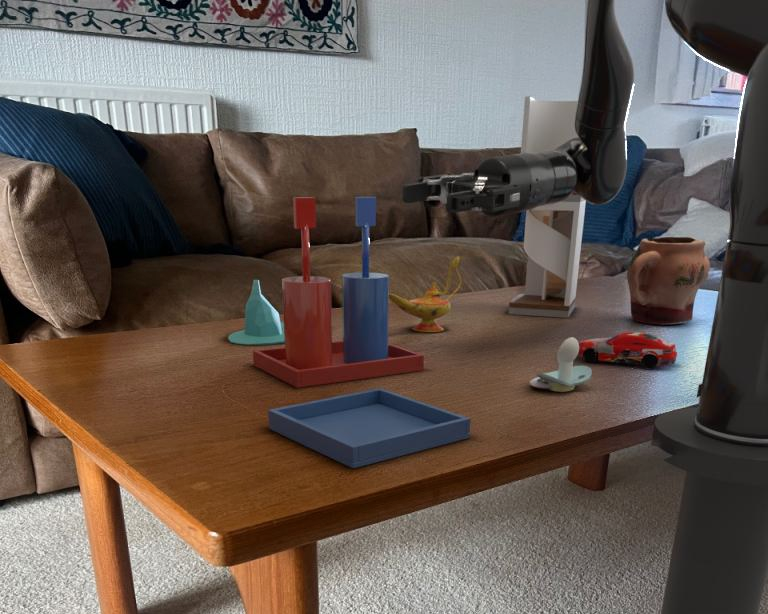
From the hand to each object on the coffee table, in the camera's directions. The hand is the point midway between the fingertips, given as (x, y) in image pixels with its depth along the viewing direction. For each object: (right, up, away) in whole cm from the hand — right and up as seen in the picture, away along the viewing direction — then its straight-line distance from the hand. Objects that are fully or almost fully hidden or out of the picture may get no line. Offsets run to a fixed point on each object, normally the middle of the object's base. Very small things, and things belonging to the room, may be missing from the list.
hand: (425, 199), depth 99 cm
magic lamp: (+1, -11, +27) cm, 29 cm away
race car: (+28, -19, +8) cm, 35 cm away
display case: (+24, -3, +46) cm, 52 cm away
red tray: (-11, -21, +3) cm, 24 cm away
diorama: (-22, -12, +24) cm, 34 cm away
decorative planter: (+42, -7, +36) cm, 56 cm away
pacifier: (+16, -25, -5) cm, 30 cm away
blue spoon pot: (-8, -20, +5) cm, 22 cm away
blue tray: (-7, -32, -22) cm, 40 cm away
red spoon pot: (-15, -21, +1) cm, 26 cm away
